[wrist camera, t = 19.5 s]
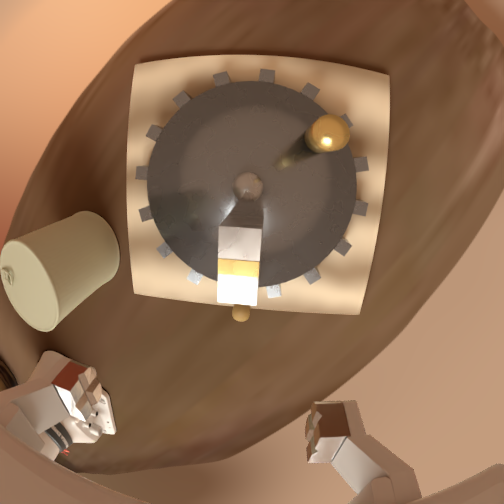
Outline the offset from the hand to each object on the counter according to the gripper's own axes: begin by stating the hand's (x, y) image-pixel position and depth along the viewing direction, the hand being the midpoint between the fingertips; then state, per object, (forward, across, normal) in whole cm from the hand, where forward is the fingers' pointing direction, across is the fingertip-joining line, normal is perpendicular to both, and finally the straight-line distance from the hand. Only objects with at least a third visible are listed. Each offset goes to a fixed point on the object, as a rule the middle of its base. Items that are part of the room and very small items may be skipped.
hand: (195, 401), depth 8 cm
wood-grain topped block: (+16, 0, 0) cm, 16 cm away
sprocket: (+18, 0, +6) cm, 19 cm away
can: (+20, -19, -2) cm, 27 cm away
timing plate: (+20, 0, +6) cm, 20 cm away
